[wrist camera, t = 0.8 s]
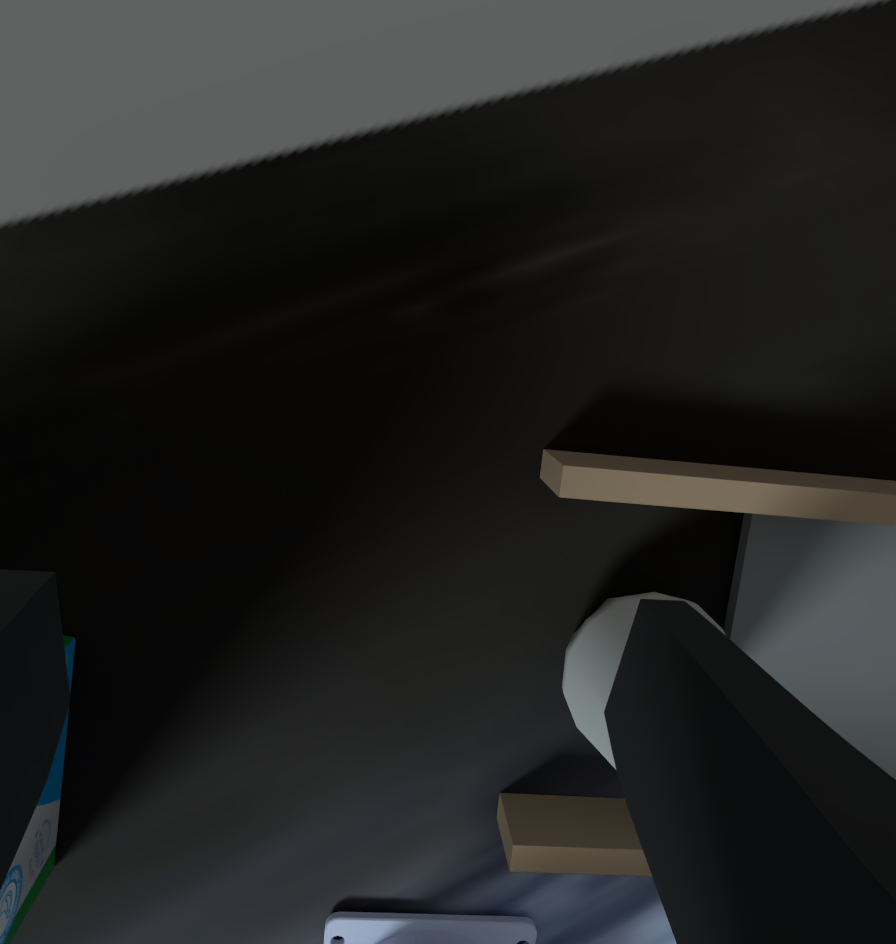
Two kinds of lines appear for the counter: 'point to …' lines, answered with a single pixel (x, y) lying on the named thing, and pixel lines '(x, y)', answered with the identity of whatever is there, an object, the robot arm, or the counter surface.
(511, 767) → the counter surface
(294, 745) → the counter surface
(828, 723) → the tan u-shaped piece
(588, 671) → the salt shaker
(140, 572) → the counter surface
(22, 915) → the milk carton
